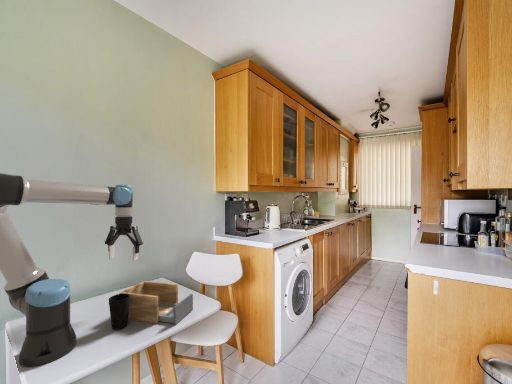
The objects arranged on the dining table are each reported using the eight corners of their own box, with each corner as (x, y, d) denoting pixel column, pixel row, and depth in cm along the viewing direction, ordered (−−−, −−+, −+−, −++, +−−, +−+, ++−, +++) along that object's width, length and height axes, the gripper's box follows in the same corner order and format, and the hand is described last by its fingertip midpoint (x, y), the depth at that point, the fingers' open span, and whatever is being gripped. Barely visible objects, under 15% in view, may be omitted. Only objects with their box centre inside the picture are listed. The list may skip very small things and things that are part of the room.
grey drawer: (175, 324, 99) (175, 307, 99) (139, 319, 104) (138, 302, 104) (192, 309, 112) (192, 294, 112) (159, 305, 117) (159, 290, 117)
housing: (156, 323, 101) (156, 297, 101) (119, 318, 106) (119, 293, 106) (178, 307, 115) (177, 284, 115) (144, 303, 120) (144, 280, 120)
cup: (120, 332, 94) (120, 301, 95) (104, 330, 96) (103, 300, 96) (134, 322, 102) (134, 293, 102) (118, 320, 104) (118, 292, 104)
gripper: (150, 215, 121) (150, 258, 120) (109, 215, 126) (108, 256, 126) (140, 216, 113) (140, 262, 113) (96, 216, 119) (96, 259, 118)
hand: (123, 259), depth 119 cm, fingers open, 13 cm apart
